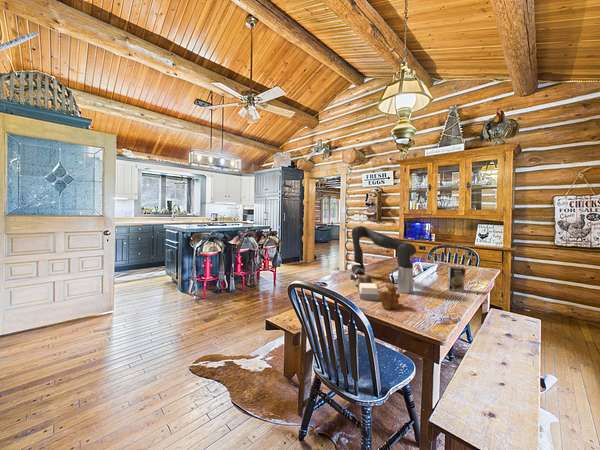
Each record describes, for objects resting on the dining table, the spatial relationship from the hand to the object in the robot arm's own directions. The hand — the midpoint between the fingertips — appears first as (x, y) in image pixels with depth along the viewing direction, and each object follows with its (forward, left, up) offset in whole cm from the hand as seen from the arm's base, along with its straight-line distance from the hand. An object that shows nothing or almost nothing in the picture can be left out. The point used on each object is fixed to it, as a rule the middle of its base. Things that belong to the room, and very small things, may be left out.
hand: (361, 280), depth 180 cm
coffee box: (-65, -8, -6) cm, 66 cm away
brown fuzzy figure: (-14, +30, -6) cm, 34 cm away
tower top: (-3, +16, -3) cm, 16 cm away
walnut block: (0, +4, -6) cm, 7 cm away
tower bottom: (-3, +16, -7) cm, 17 cm away
